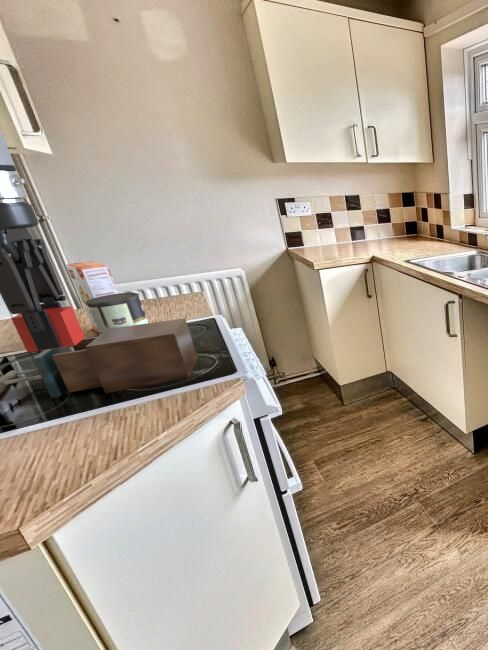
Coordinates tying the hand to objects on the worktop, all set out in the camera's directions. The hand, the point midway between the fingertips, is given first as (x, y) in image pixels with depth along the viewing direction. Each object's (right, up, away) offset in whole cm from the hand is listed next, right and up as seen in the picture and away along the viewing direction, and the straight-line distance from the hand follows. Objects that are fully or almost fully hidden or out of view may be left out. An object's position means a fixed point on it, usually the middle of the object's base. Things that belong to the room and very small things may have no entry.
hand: (57, 343), depth 73 cm
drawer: (-15, -9, +18) cm, 25 cm away
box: (0, 0, 0) cm, 0 cm away
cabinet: (-3, -7, +24) cm, 25 cm away
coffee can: (-23, -2, +40) cm, 47 cm away
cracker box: (-38, +2, +51) cm, 64 cm away
